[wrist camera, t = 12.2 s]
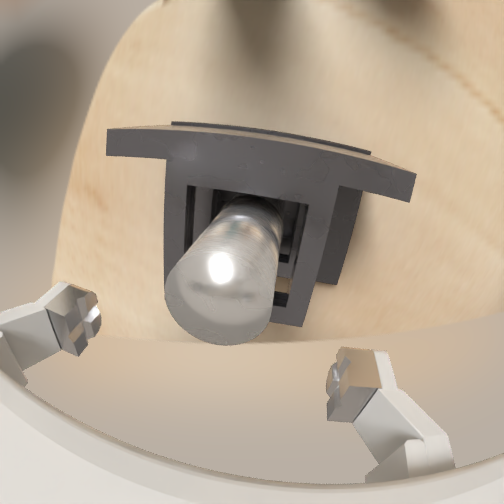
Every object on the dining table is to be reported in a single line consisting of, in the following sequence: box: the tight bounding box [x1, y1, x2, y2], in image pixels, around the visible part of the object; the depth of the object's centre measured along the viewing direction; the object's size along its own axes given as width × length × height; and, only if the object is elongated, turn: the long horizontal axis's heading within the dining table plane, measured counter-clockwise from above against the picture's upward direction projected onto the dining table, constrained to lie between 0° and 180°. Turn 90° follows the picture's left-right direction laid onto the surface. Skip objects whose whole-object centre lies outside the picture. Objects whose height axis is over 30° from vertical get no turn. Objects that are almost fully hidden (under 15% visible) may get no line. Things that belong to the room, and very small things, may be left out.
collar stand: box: [106, 121, 417, 327], centre depth 19 cm, size 16×12×10 cm
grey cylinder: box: [165, 192, 285, 345], centre depth 16 cm, size 4×4×14 cm
